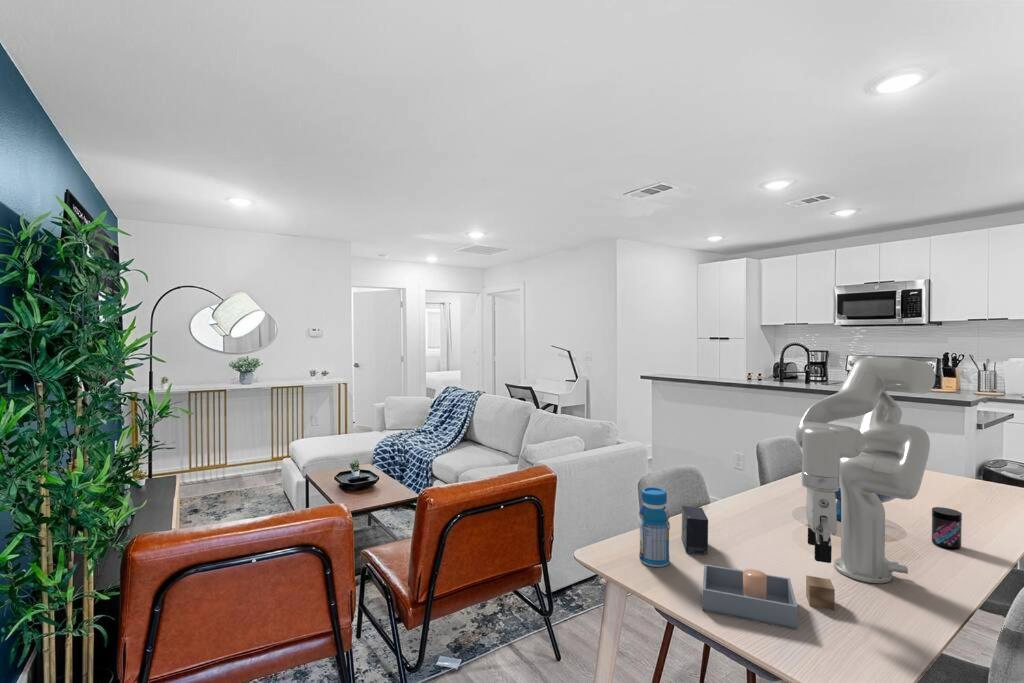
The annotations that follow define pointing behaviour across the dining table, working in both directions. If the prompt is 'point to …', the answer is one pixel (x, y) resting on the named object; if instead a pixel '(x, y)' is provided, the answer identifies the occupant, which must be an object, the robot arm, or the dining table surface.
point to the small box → (694, 530)
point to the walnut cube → (820, 592)
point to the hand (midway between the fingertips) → (818, 553)
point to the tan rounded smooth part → (754, 584)
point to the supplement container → (946, 528)
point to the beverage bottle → (654, 528)
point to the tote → (749, 598)
